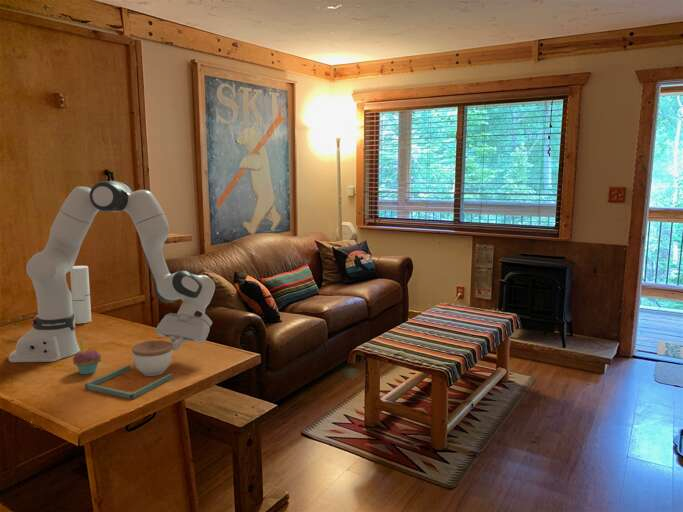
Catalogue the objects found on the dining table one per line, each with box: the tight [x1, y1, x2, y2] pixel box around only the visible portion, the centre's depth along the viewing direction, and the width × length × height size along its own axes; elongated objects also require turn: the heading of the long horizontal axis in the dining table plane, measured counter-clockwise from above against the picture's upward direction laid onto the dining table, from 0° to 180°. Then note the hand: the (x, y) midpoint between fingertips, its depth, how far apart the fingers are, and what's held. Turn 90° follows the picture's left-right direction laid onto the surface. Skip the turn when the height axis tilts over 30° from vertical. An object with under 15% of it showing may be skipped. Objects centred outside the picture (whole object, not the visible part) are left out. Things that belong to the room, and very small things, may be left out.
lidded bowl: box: [131, 339, 173, 377], centre depth 173 cm, size 13×13×11 cm
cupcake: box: [72, 339, 102, 375], centre depth 172 cm, size 9×8×12 cm
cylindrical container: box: [69, 265, 92, 323], centre depth 226 cm, size 7×7×25 cm
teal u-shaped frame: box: [84, 364, 174, 400], centre depth 164 cm, size 18×19×2 cm
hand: (172, 349), depth 182 cm, fingers closed
